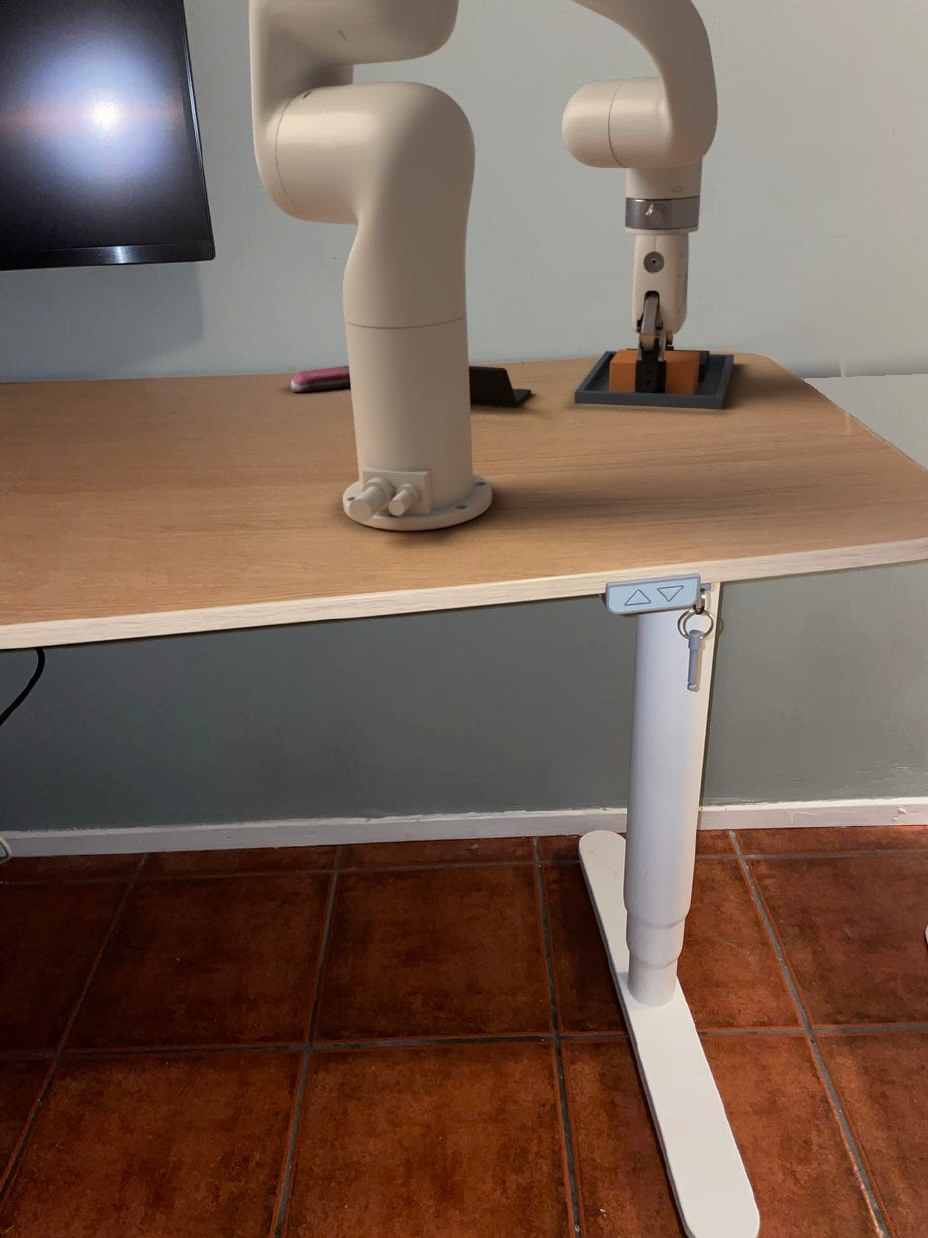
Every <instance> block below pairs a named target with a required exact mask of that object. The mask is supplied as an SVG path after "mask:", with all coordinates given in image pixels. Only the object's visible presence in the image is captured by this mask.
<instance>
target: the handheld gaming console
mask: <svg viewBox="0 0 928 1238" xmlns="http://www.w3.org/2000/svg"><path fill="white" fill-rule="evenodd" d="M469 388H470V406H475V407H477V406H478V407H492V408H505V409H517V407H519V406H520V405H522V404H523V403H524V402H525V401H526V400H527V399H528V398H529V397H531V396H532V390H531V389H530V388H528V389H527V388H515V387H513V386H512V382H511V380H510V376H509V373H508V369H506V368H504V367H497V366H496V367H495V366H494V367H493V366H477V365H469Z"/></svg>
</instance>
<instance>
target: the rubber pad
mask: <svg viewBox="0 0 928 1238" xmlns="http://www.w3.org/2000/svg"><path fill="white" fill-rule="evenodd" d="M625 350H638V348H629V347H628V348H627V347H626V348H625ZM674 351H691V352H700V359H699V373H698V382H703V381H704V378H705V375H706V372H707V370H708V367H709V354H711V353H710V350H700V349H698V350H697V349H674Z"/></svg>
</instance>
